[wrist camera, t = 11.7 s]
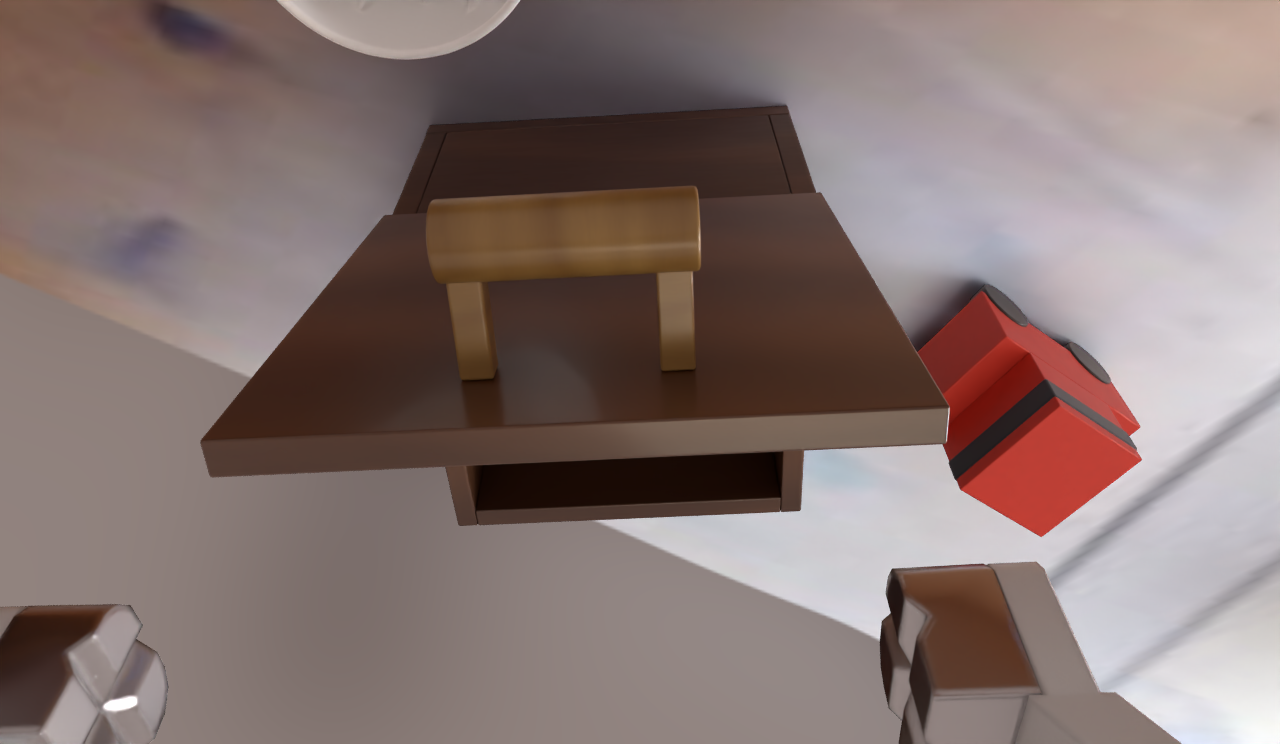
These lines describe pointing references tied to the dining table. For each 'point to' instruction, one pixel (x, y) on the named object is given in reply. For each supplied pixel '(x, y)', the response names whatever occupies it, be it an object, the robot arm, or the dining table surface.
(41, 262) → the dining table surface
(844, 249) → the chest lid
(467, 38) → the white cup
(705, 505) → the toy chest
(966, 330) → the red stepped block
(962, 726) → the robot arm
